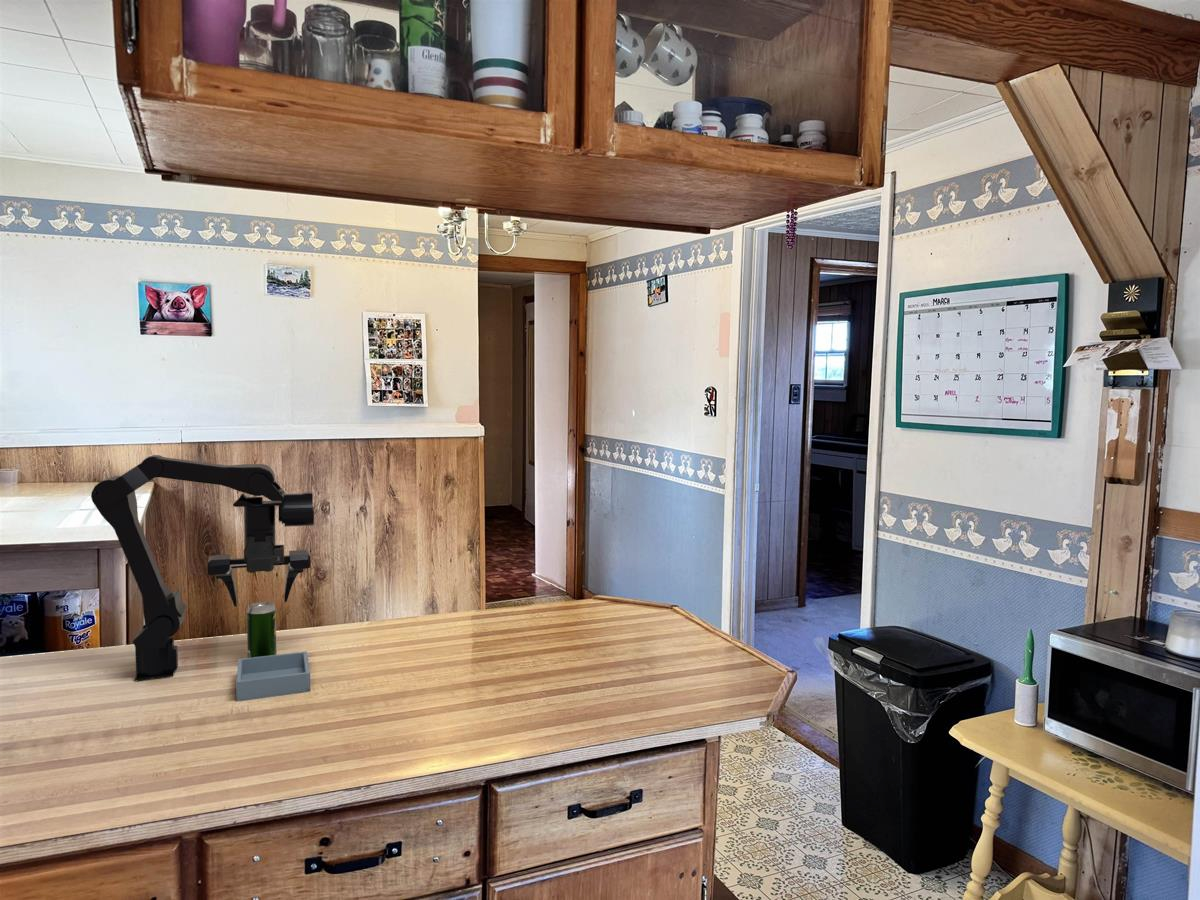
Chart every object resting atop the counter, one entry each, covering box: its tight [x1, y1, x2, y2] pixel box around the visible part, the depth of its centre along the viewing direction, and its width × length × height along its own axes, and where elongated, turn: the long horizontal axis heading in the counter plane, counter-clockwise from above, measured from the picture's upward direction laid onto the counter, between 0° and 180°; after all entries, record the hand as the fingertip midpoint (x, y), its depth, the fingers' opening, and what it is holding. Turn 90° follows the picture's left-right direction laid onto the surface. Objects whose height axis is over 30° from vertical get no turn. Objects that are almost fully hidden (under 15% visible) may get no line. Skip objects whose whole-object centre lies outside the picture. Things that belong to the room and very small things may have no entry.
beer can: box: [246, 601, 278, 658], centre depth 157 cm, size 5×5×12 cm
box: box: [235, 650, 311, 702], centre depth 146 cm, size 12×12×4 cm
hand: (260, 603), depth 156 cm, fingers open, 9 cm apart
